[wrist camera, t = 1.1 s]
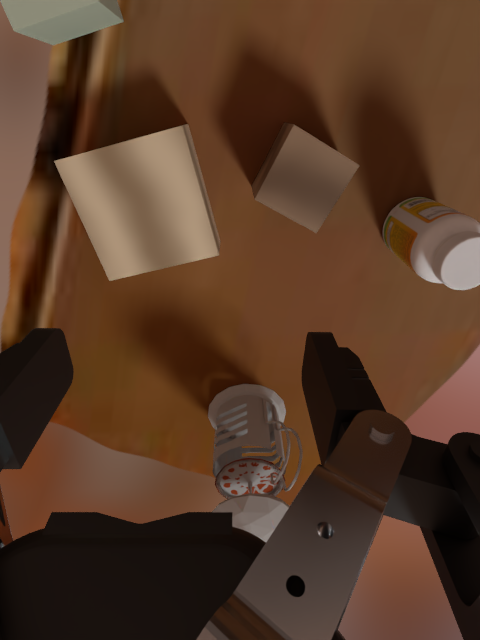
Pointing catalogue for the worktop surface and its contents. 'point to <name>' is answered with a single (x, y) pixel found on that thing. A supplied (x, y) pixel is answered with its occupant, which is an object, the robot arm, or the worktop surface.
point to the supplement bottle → (435, 242)
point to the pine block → (143, 203)
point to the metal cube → (302, 177)
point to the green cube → (61, 17)
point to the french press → (253, 471)
